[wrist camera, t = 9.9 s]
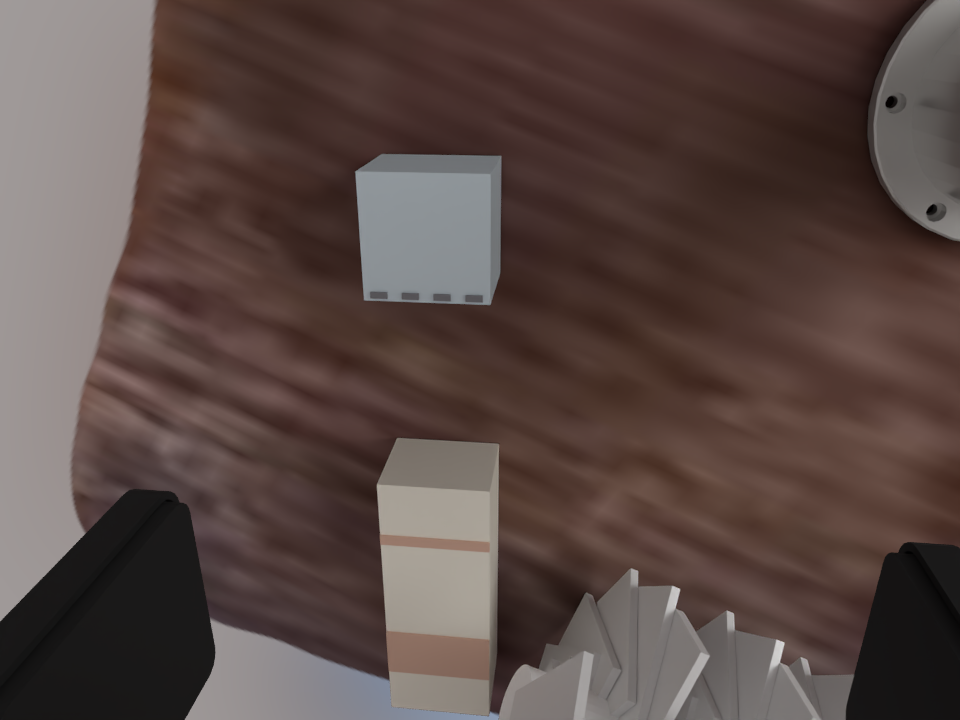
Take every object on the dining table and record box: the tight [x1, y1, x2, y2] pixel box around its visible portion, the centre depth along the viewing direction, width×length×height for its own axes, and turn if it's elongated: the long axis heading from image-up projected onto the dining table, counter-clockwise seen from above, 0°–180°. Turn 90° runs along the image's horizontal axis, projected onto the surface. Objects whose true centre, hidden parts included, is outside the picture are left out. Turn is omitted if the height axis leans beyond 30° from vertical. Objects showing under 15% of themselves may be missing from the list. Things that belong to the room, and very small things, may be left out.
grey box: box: [355, 154, 501, 305], centre depth 37 cm, size 6×6×5 cm
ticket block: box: [377, 438, 499, 716], centre depth 45 cm, size 6×16×5 cm, turn 0°
